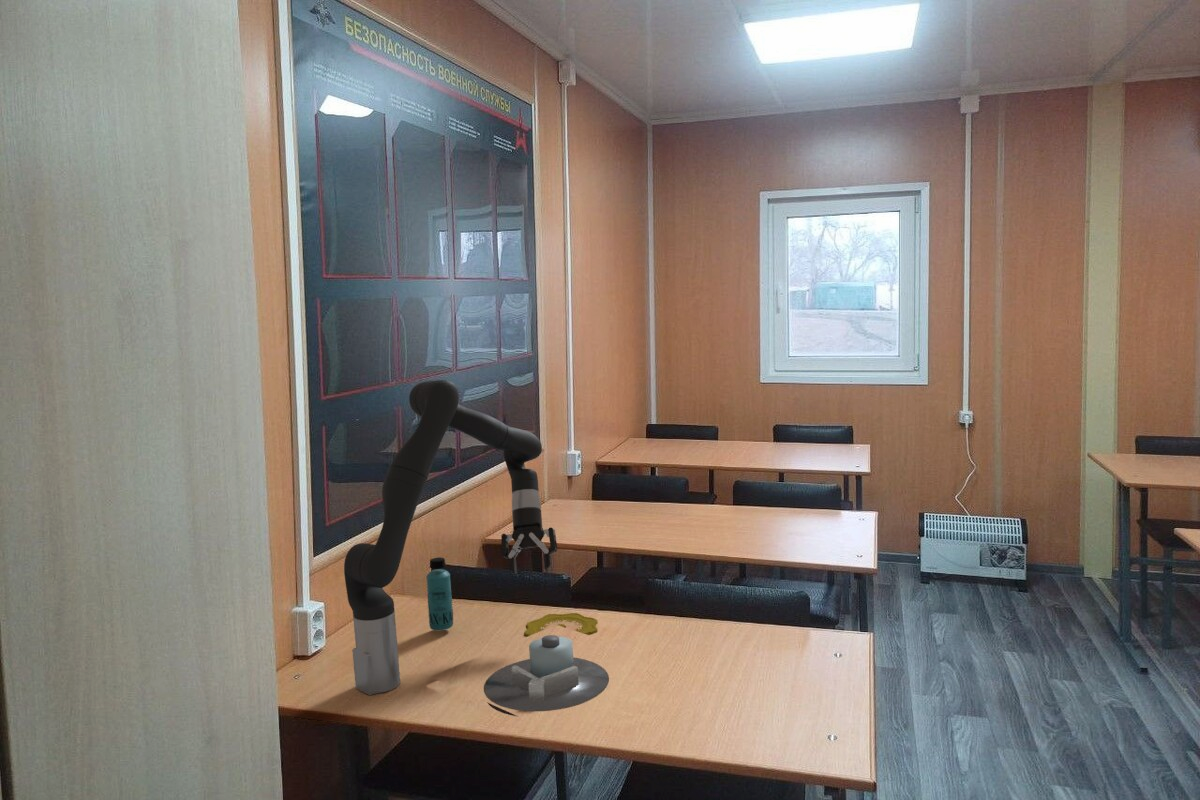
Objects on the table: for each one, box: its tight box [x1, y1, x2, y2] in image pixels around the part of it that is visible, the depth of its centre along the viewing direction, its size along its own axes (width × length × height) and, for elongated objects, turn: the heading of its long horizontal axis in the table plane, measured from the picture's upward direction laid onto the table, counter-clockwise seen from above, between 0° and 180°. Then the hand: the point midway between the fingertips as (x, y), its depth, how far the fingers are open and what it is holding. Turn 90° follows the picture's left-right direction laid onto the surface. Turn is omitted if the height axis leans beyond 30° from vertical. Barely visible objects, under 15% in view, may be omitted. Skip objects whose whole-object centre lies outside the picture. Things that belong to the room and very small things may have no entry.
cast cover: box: [528, 634, 574, 678], centre depth 204 cm, size 10×10×8 cm
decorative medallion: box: [523, 612, 599, 638], centre depth 234 cm, size 20×20×2 cm
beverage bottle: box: [426, 557, 454, 631], centre depth 235 cm, size 6×7×20 cm
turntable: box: [483, 656, 610, 717], centre depth 198 cm, size 28×28×6 cm
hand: (530, 571), depth 225 cm, fingers open, 8 cm apart
